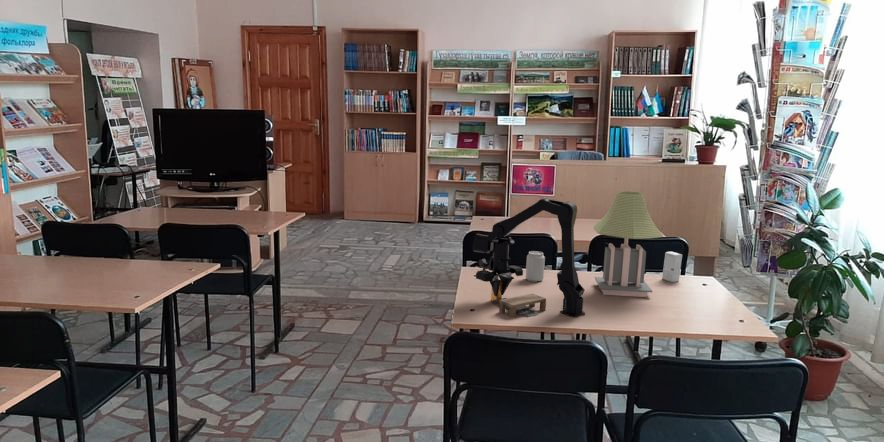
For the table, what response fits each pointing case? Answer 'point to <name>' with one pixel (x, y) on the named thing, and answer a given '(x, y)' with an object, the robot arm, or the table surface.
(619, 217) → the desk lamp
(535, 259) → the can
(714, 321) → the table surface
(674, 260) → the skincare box
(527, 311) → the steel token
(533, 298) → the small wooden bench
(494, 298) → the orange grey l-shaped block
